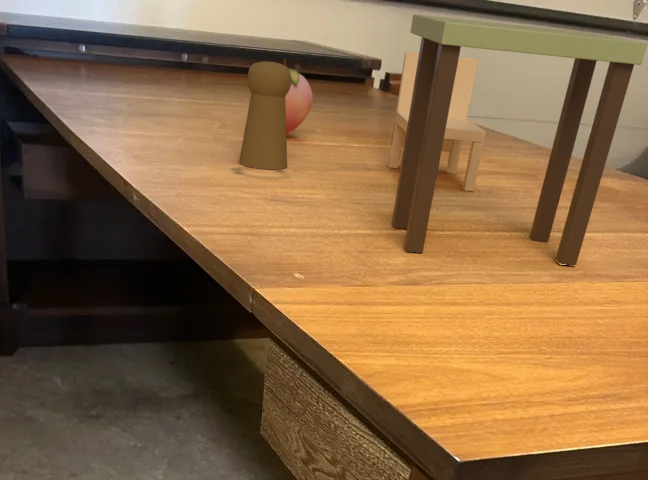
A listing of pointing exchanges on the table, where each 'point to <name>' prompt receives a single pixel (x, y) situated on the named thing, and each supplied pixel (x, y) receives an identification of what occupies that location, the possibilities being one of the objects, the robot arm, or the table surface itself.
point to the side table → (587, 49)
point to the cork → (266, 117)
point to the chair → (456, 122)
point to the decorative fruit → (297, 100)
